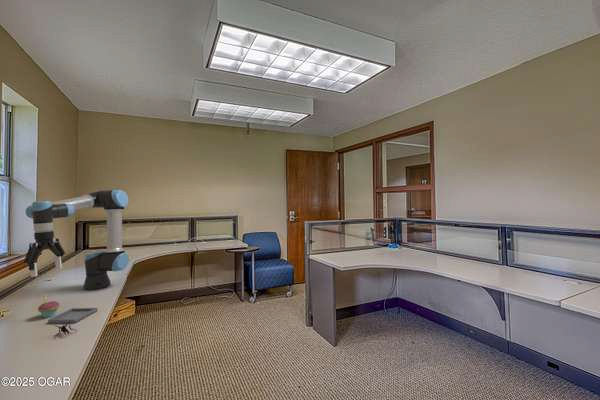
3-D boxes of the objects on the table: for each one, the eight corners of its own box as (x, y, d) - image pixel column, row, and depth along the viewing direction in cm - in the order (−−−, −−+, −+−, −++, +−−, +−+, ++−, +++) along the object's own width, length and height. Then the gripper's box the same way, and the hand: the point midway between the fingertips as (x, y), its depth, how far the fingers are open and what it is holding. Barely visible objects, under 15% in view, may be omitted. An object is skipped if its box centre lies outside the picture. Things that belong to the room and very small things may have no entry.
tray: (72, 311, 155) (72, 308, 155) (97, 311, 154) (97, 307, 154) (48, 323, 141) (47, 319, 141) (75, 323, 140) (75, 319, 140)
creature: (78, 336, 129) (73, 327, 134) (78, 325, 128) (73, 316, 133) (55, 343, 123) (51, 334, 128) (55, 332, 122) (51, 323, 127)
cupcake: (34, 320, 145) (33, 296, 145) (44, 313, 153) (43, 291, 153) (55, 317, 147) (53, 294, 147) (63, 311, 156) (62, 289, 155)
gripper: (58, 228, 161) (61, 266, 162) (11, 235, 136) (14, 280, 137) (71, 227, 161) (74, 265, 162) (26, 234, 136) (29, 279, 137)
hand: (46, 272), depth 149 cm, fingers open, 13 cm apart
